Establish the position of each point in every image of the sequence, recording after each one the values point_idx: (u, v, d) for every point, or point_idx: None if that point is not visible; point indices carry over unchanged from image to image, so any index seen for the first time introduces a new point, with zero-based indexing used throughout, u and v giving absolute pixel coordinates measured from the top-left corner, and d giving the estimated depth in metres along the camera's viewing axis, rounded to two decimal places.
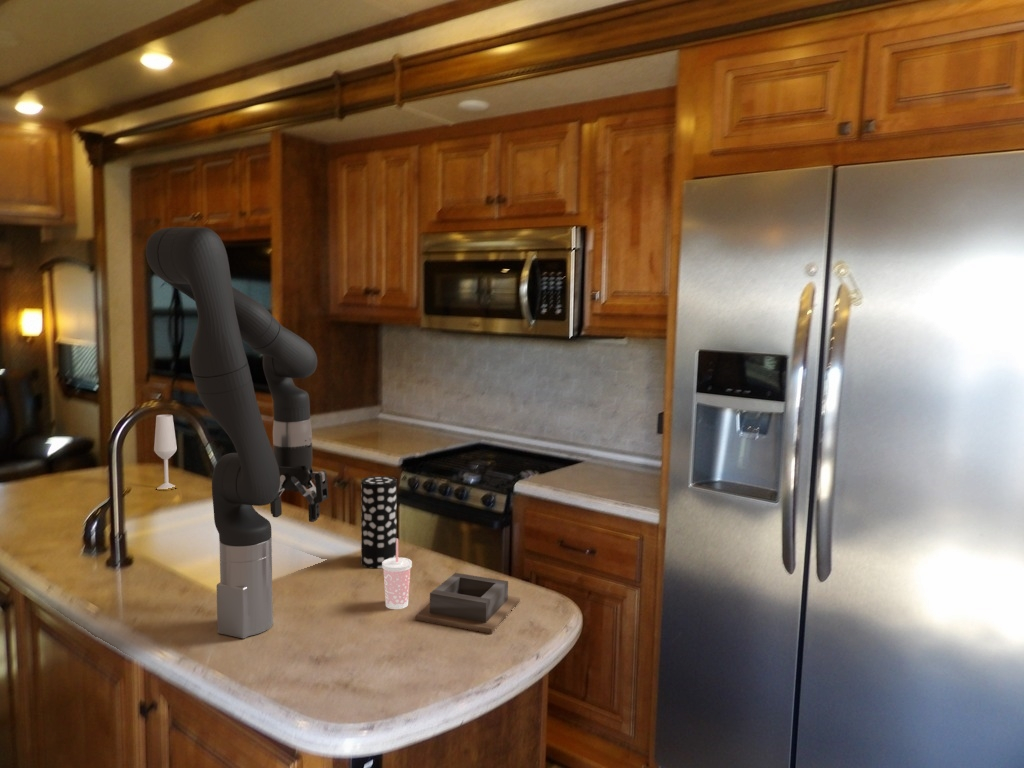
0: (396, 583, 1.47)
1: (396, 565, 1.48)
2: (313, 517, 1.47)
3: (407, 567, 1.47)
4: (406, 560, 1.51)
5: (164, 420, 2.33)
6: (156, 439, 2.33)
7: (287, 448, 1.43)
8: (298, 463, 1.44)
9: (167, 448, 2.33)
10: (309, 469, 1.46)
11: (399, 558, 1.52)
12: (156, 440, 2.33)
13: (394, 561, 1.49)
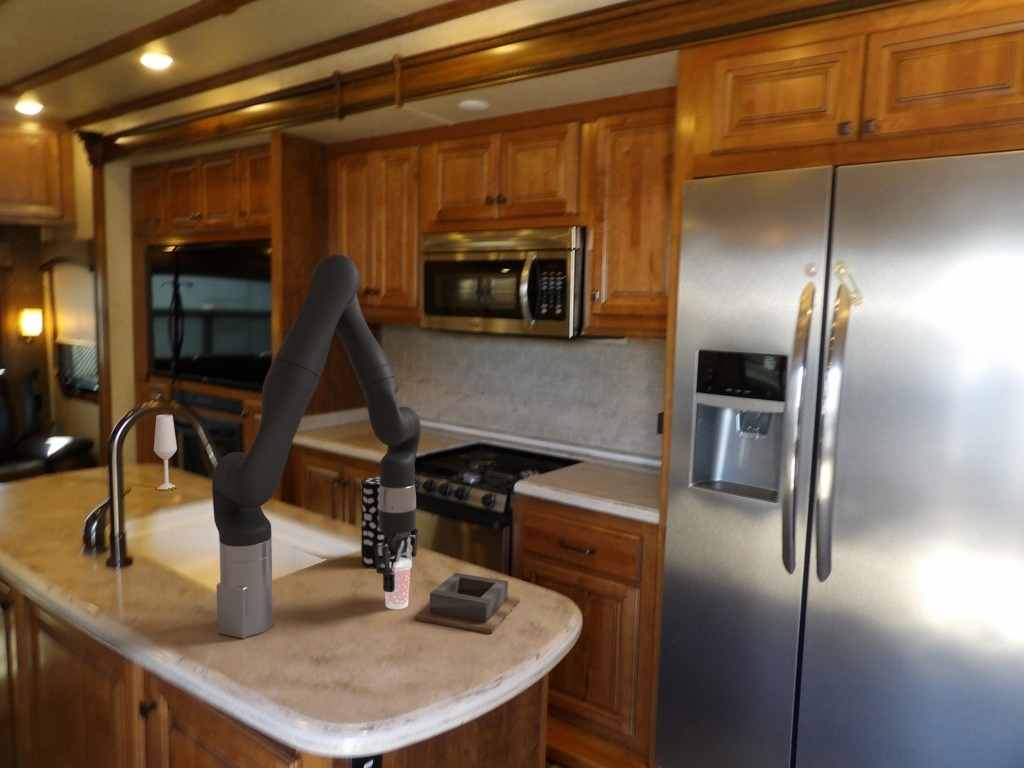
0: (396, 583, 1.47)
1: (396, 565, 1.48)
2: None
3: (407, 567, 1.47)
4: (406, 560, 1.51)
5: (164, 420, 2.33)
6: (156, 439, 2.33)
7: (415, 509, 1.48)
8: None
9: (167, 448, 2.33)
10: None
11: None
12: (156, 440, 2.33)
13: None
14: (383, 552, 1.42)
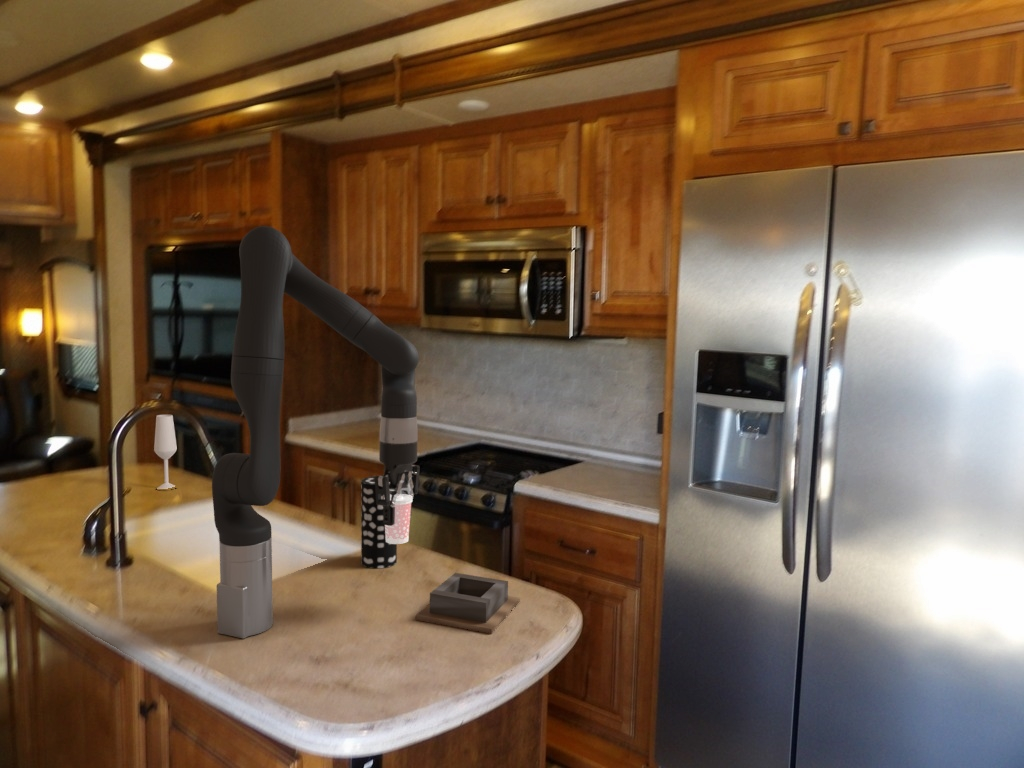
0: (396, 517, 1.45)
1: (396, 499, 1.45)
2: None
3: (408, 501, 1.45)
4: (407, 496, 1.48)
5: (164, 420, 2.33)
6: (156, 439, 2.33)
7: None
8: None
9: (167, 448, 2.33)
10: None
11: (400, 494, 1.49)
12: (156, 440, 2.33)
13: None
14: (383, 482, 1.40)
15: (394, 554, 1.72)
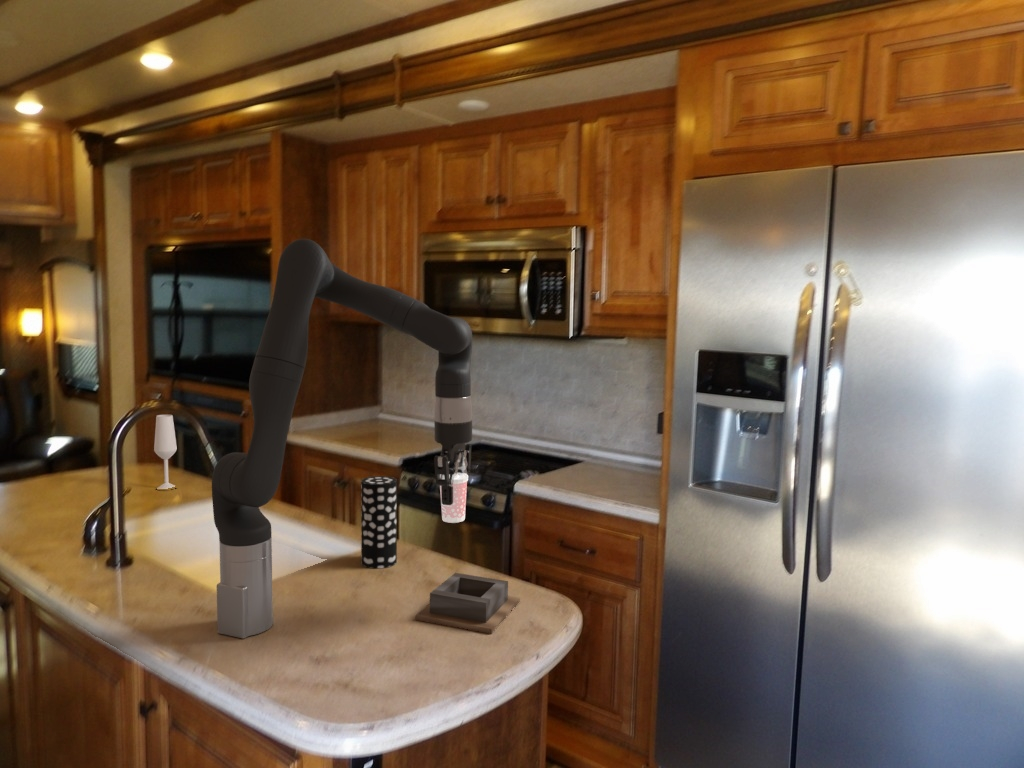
0: (454, 496, 1.45)
1: None
2: None
3: (464, 480, 1.45)
4: (461, 474, 1.48)
5: (164, 420, 2.33)
6: (156, 439, 2.33)
7: None
8: None
9: (167, 448, 2.33)
10: None
11: None
12: (156, 440, 2.33)
13: None
14: (443, 462, 1.39)
15: (394, 554, 1.72)
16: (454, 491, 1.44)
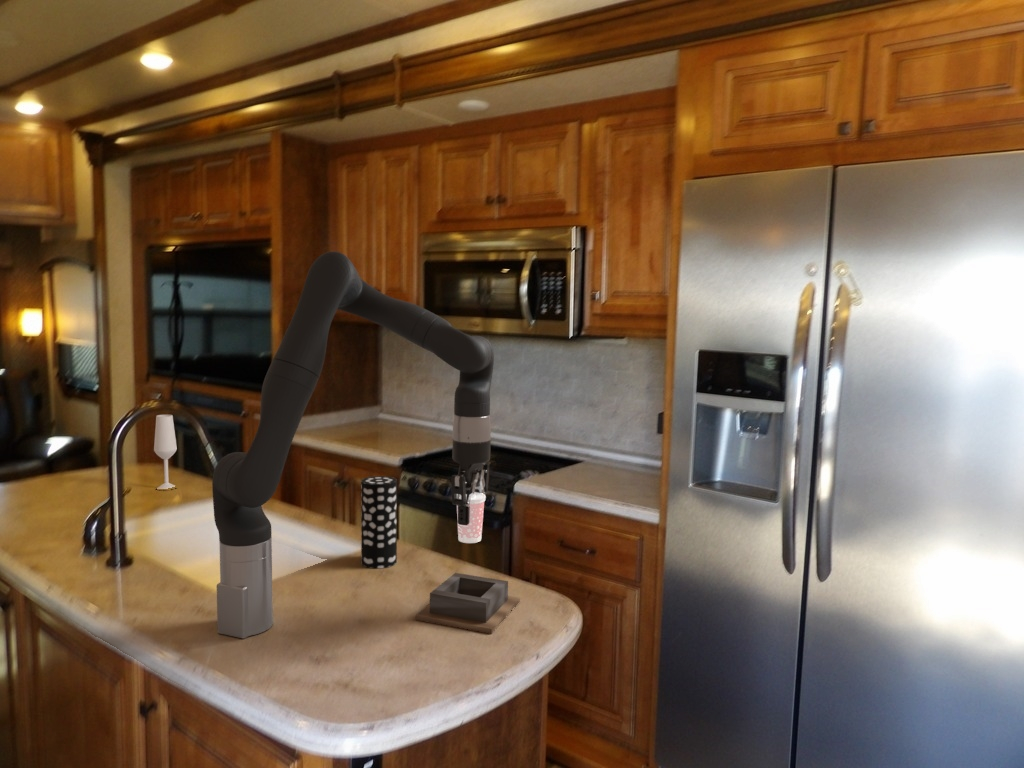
0: (470, 516, 1.43)
1: None
2: None
3: (482, 500, 1.43)
4: (479, 494, 1.47)
5: (164, 420, 2.33)
6: (156, 439, 2.33)
7: (490, 440, 1.44)
8: None
9: (167, 448, 2.33)
10: None
11: None
12: (156, 440, 2.33)
13: None
14: (460, 482, 1.38)
15: (394, 554, 1.72)
16: (471, 511, 1.43)
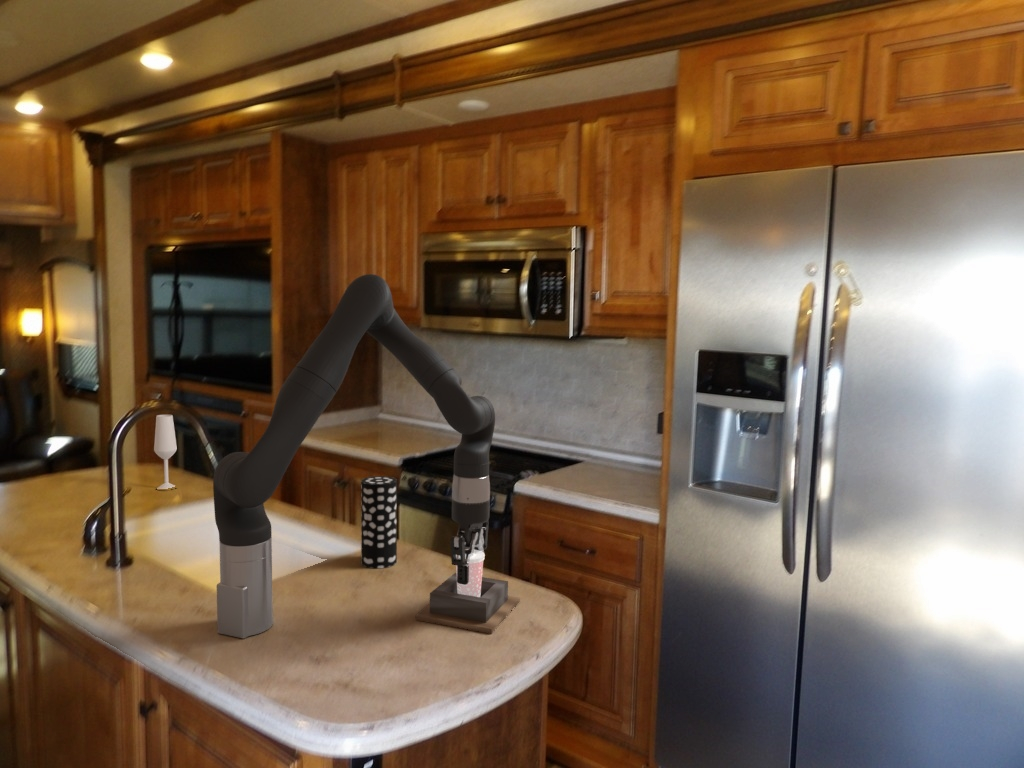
0: (470, 575, 1.44)
1: None
2: None
3: (481, 559, 1.45)
4: (478, 552, 1.48)
5: (164, 420, 2.33)
6: (156, 439, 2.33)
7: (489, 500, 1.45)
8: None
9: (167, 448, 2.33)
10: None
11: None
12: (156, 440, 2.33)
13: None
14: (459, 543, 1.39)
15: (394, 554, 1.72)
16: (470, 570, 1.44)
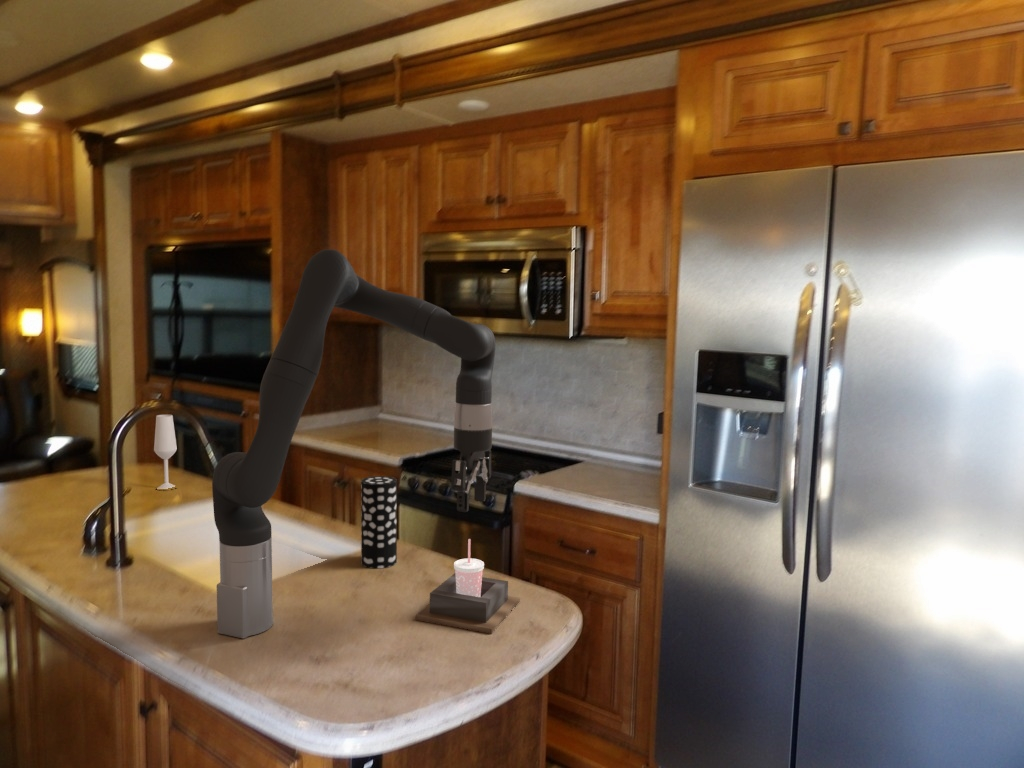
0: (469, 584, 1.44)
1: (469, 566, 1.45)
2: None
3: (480, 568, 1.45)
4: (477, 561, 1.48)
5: (164, 420, 2.33)
6: (156, 439, 2.33)
7: None
8: None
9: (167, 448, 2.33)
10: None
11: (470, 559, 1.49)
12: (156, 440, 2.33)
13: (466, 562, 1.46)
14: (461, 466, 1.37)
15: (394, 554, 1.72)
16: (469, 580, 1.44)
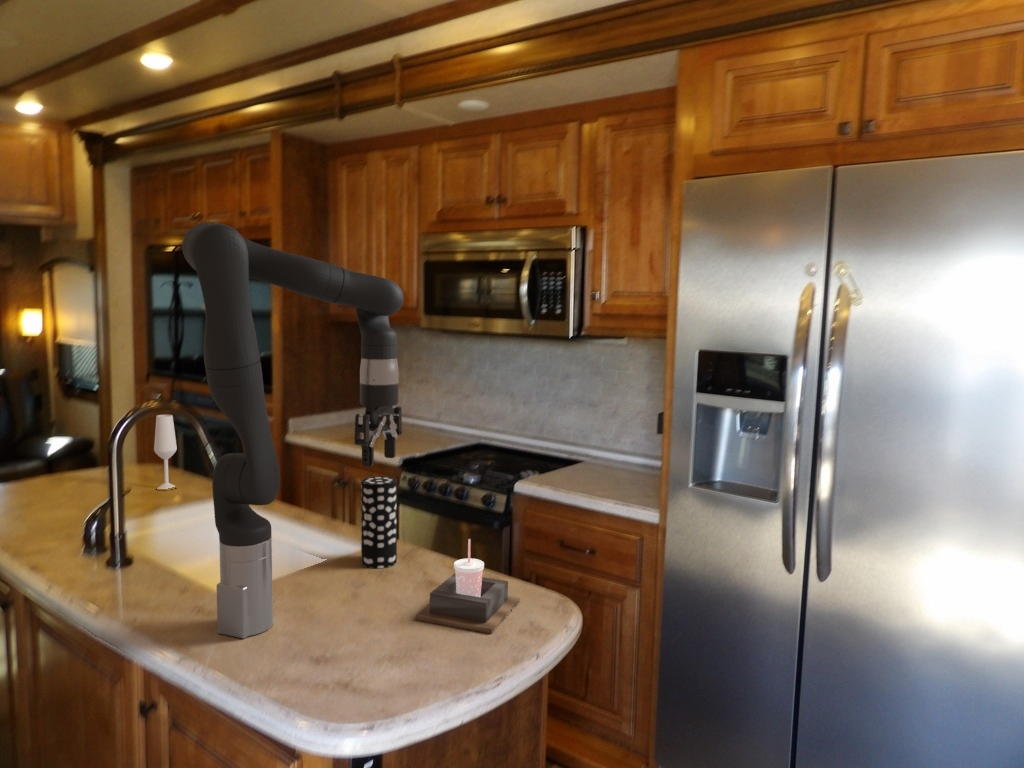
0: (469, 584, 1.44)
1: (469, 566, 1.45)
2: None
3: (480, 568, 1.45)
4: (477, 561, 1.48)
5: (164, 420, 2.33)
6: (156, 439, 2.33)
7: None
8: None
9: (167, 448, 2.33)
10: None
11: (470, 559, 1.49)
12: (156, 440, 2.33)
13: (466, 562, 1.46)
14: (364, 420, 1.38)
15: (394, 554, 1.72)
16: (469, 580, 1.44)
